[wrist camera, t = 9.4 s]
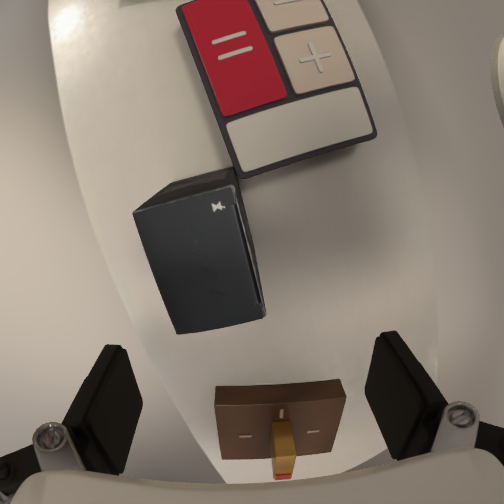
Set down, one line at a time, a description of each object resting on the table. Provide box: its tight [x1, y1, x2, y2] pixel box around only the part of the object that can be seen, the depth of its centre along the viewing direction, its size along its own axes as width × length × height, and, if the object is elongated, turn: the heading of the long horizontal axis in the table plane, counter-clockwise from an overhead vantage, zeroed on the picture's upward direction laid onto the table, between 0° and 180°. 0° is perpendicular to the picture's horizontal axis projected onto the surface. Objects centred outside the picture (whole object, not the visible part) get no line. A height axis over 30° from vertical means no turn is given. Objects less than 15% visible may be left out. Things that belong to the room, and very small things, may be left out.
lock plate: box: [214, 379, 346, 460], centre depth 33 cm, size 14×11×3 cm
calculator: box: [176, 0, 377, 179], centre depth 21 cm, size 11×4×15 cm
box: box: [133, 167, 266, 335], centre depth 21 cm, size 8×6×11 cm
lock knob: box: [270, 421, 296, 480], centre depth 29 cm, size 5×2×5 cm, turn 0°
